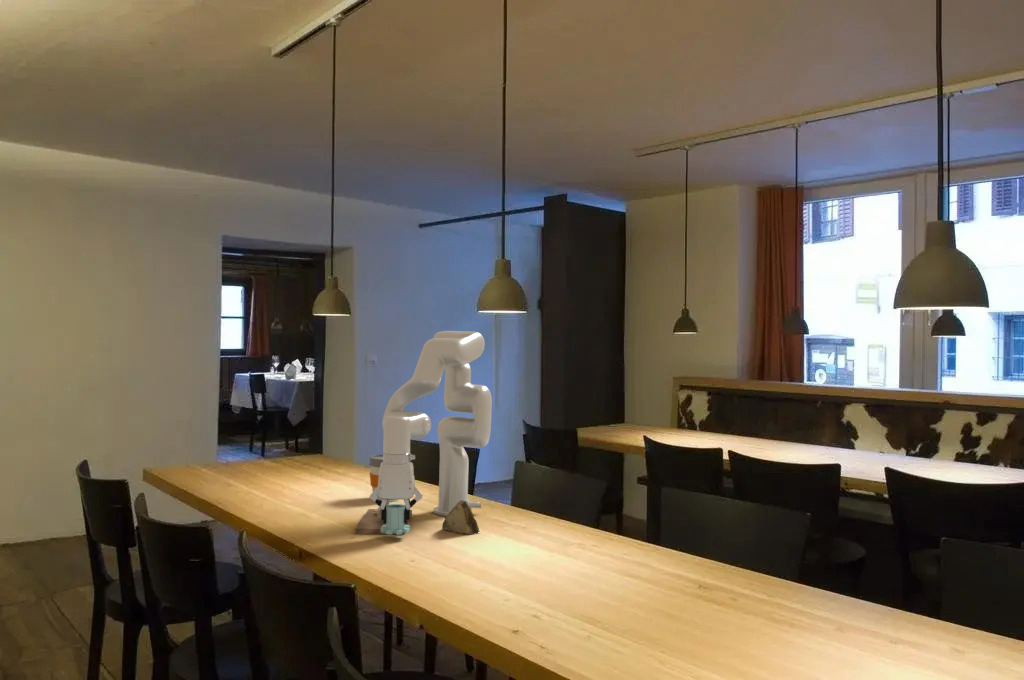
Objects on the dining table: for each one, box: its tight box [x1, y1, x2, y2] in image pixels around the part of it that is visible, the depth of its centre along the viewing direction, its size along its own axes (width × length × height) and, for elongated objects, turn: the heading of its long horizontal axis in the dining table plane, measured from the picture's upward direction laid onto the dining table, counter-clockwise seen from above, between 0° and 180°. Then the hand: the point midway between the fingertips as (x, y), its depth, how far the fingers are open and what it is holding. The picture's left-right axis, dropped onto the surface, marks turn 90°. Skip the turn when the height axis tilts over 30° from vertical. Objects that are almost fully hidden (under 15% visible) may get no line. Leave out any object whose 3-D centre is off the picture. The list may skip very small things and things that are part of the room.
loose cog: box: [381, 503, 411, 535], centre depth 210 cm, size 8×8×7 cm
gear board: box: [354, 499, 413, 535], centre depth 226 cm, size 14×25×7 cm, turn 3°
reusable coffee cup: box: [368, 454, 400, 503], centre depth 261 cm, size 13×12×15 cm
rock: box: [441, 500, 481, 535], centre depth 220 cm, size 11×9×10 cm
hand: (395, 521), depth 210 cm, fingers closed on loose cog, 5 cm apart
